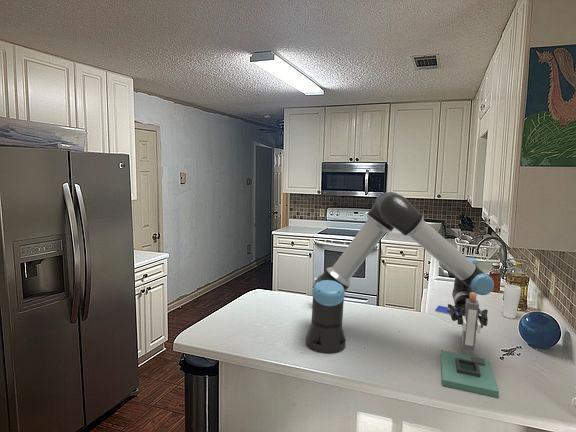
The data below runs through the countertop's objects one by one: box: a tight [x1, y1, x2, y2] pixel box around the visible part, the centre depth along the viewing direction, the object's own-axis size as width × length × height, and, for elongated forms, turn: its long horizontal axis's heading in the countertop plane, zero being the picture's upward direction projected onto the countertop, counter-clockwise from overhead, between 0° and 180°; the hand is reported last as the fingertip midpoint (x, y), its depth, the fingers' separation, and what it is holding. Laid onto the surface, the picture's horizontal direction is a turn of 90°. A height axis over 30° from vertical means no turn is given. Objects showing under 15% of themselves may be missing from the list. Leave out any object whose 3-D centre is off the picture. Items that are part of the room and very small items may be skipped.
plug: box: [461, 292, 480, 352], centre depth 130 cm, size 5×4×19 cm, turn 161°
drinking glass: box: [502, 283, 522, 320], centre depth 186 cm, size 7×7×15 cm
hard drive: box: [434, 305, 459, 316], centre depth 190 cm, size 2×8×12 cm
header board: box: [440, 349, 500, 398], centre depth 132 cm, size 22×16×3 cm
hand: (472, 328), depth 126 cm, fingers closed on plug, 3 cm apart
